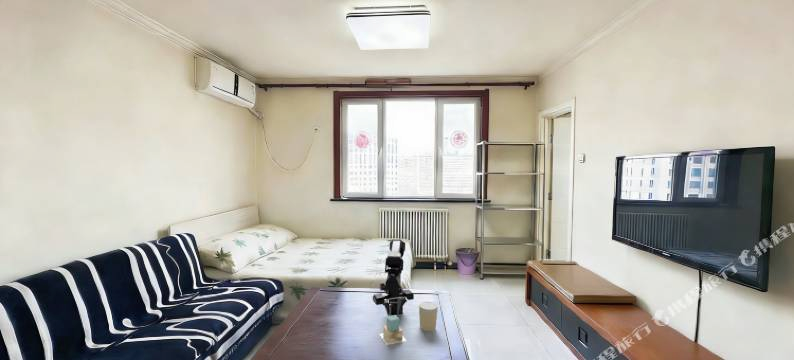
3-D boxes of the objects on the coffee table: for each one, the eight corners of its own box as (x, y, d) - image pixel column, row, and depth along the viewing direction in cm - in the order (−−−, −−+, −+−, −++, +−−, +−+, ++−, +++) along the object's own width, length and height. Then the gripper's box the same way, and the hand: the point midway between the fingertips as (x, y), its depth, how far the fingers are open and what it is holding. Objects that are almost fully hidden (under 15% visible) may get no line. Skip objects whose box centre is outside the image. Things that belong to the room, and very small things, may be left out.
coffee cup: (438, 326, 163) (439, 303, 162) (434, 335, 154) (435, 311, 153) (421, 322, 166) (421, 300, 165) (416, 331, 157) (416, 308, 156)
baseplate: (398, 332, 156) (398, 330, 156) (406, 343, 147) (406, 341, 147) (379, 335, 152) (379, 333, 152) (386, 347, 143) (386, 345, 143)
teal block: (395, 324, 152) (395, 314, 152) (399, 329, 148) (399, 319, 148) (386, 326, 151) (386, 316, 150) (390, 331, 146) (390, 320, 146)
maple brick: (396, 332, 154) (397, 323, 154) (402, 339, 148) (402, 330, 147) (383, 335, 152) (383, 325, 151) (388, 342, 145) (388, 333, 145)
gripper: (405, 273, 159) (404, 304, 160) (369, 278, 152) (368, 310, 153) (414, 281, 149) (414, 314, 149) (376, 287, 142) (376, 321, 143)
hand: (393, 314), depth 149 cm, fingers open, 5 cm apart
